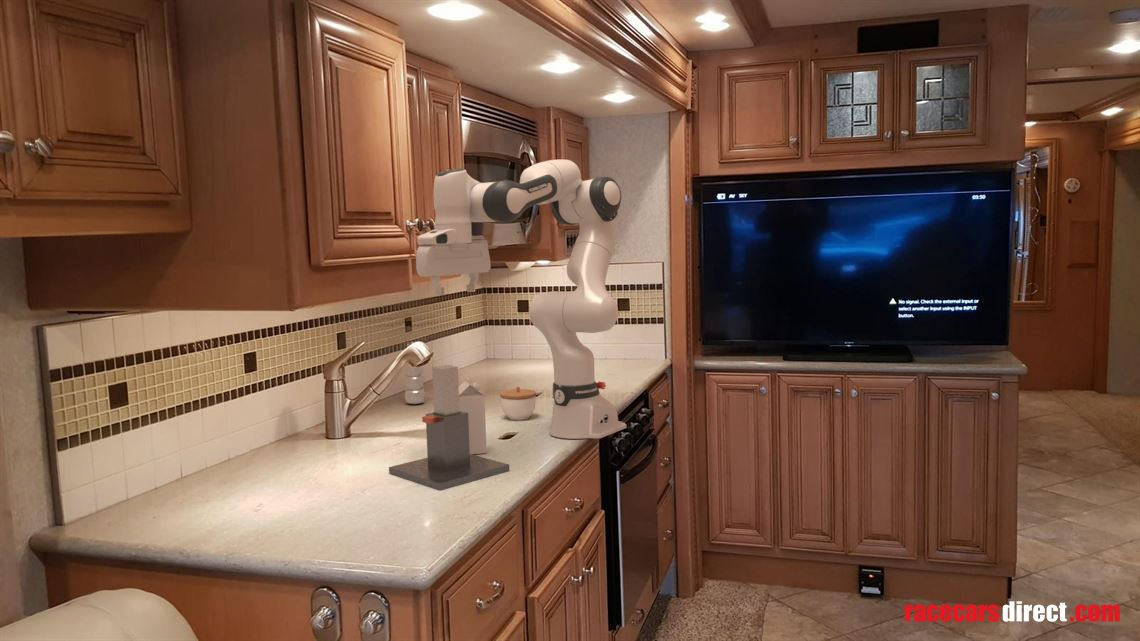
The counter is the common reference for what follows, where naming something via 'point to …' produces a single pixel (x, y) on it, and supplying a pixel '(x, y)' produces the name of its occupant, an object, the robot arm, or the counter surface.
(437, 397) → the block
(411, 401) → the plastic bottle
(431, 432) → the jack base
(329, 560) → the counter surface
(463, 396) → the milk carton
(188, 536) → the counter surface
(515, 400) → the lidded jar
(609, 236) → the robot arm
